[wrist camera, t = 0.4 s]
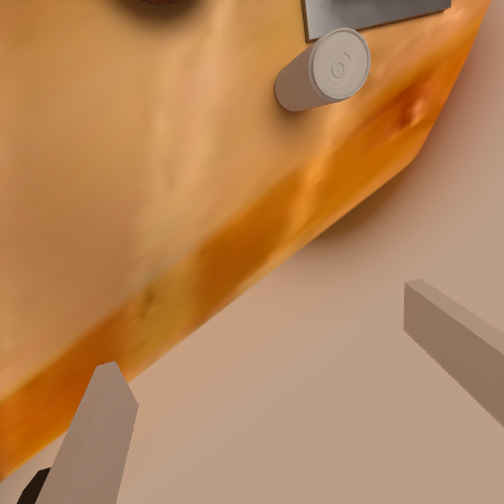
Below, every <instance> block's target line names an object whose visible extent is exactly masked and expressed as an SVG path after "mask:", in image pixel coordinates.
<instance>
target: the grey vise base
mask: <svg viewBox="0 0 504 504" xmlns="http://www.w3.org/2000/svg"><path fill="white" fill-rule="evenodd" d="M450 7H451V0H302V9H303V17H304V26H305V34H306V42H310V41H315V40H318V39H319V38H320V37H322V36H323V35H324V34H325V33H327V32H330V31H332V30H334V29H338V28H350V29H354V30H355V31H358V30H363V29H367V28H371V27H376V26H380V25H384V24H389V23H393V22H398V21H402V20H406V19H411V18H415V17H419V16H424V15H428V14H433V13H437V12H441V11H445V10H446V9H448V8H450Z"/></svg>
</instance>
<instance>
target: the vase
mask: <svg viewBox="0 0 504 504" xmlns="http://www.w3.org/2000/svg"><path fill="white" fill-rule="evenodd" d="M143 1H146V2H148V3H155V4H169V3H173V2H177V1H179V0H143Z"/></svg>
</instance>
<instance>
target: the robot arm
mask: <svg viewBox="0 0 504 504" xmlns="http://www.w3.org/2000/svg"><path fill="white" fill-rule="evenodd" d="M404 331H405V332H406V333H407V334H408V335H409V336H410V337H411V338H412V339H413V340H414V341H415V342H416V343H418V344H419V345H420V346H421V347H422V348H423V349H424V350H425V351H426V352H427V353H428V354H429V355H430V356H431V357H432V358H433V359H434V360H435V361H436V362H437V363H438V364H439V365H440V366H441V367H442V368H443V369H444V370H445V371H446V372H447V373H448V374H449V375H450V376H451V377H453V378H454V379H455V380H456V381H457V382H458V383H459V384H460V385H461V386H462V387H463V388H464V389H465V390H466V391H467V392H468V393H469V394H470V395H471V396H472V397H473V398H474V399H475V400H477V402H478V403H479V404H480V405H481V406H482V407H484V409H486V411H488V412H489V413H490V414H491V415H492V416H493V417H494V418H495V419H496V420H497V421H498V422H499V423H500V424H501V425H502V426H503V427H504V333H503V332H501V331H499V330H498V329H496V328H495V327H493V326H492V325H490V324H489V323H487V322H486V321H484V320H483V319H481V318H480V317H478V316H477V315H475V314H474V313H472V312H471V311H469V310H468V309H466V308H465V307H463V306H462V305H460V304H459V303H457V302H456V301H454V300H453V299H451V298H450V297H448V296H446V295H445V294H443V293H442V292H440V291H439V290H437V289H436V288H434V287H433V286H431V285H430V284H428V283H427V282H425V281H424V280H422V279H421V278H419V279H416V280H412V281H408V282H405V293H404ZM137 409H138V403H137V401H136V400H135V398H134V396H133V394H132V392H131V390H130V388H129V386H128V384H127V382H126V381H125V379H124V377H123V375H122V373H121V371H120V369H119V367H118V365H117V364H116V362H115V361H113V362H110V363H106V364H102V365H99V366H97V367H96V369H95V371H94V374H93V376H92V378H91V380H90V382H89V385H88V387H87V389H86V391H85V394H84V396H83V398H82V400H81V402H80V405H79V407H78V409H77V411H76V414H75V416H74V418H73V420H72V422H71V425H70V427H69V429H68V431H67V434H66V436H65V438H64V440H63V442H62V445H61V447H60V449H59V451H58V454H57V456H56V458H55V460H54V463H53V465H52V467H50V468H46V469H43V470H40V471H38V472H37V474H36V475H35V476H34V477H33V479H32V480H31V481H30V483H29V484H28V485H27V486H26V488H25V489H24V490H23V492H22V494H21V496H20V498H19V500H18V502H17V504H116V500H117V496H118V492H119V487H120V483H121V479H122V474H123V470H124V466H125V462H126V457H127V452H128V449H129V444H130V440H131V435H132V431H133V427H134V423H135V418H136V414H137Z"/></svg>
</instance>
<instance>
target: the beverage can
mask: <svg viewBox="0 0 504 504" xmlns="http://www.w3.org/2000/svg"><path fill="white" fill-rule="evenodd" d="M370 61H371V56H370V50H369V47H368V45H367V42H366V40H365V39H364V38H363V36H362V35H361V34H360V33H358V32H357V31H355V30H354V29H350V28H338V29H334V30H332V31H330V32H327V33H325V34H324V35H323V36H322V37H320V38H319V39H318V40H317V41H316V42H314V43H313V44H312V45H311V46H309V47H308V48H307V49H306V50H304V51H303V52H302V53H301V54H300V55H298V56H297V57H296V58H295V59H294V60H293V61H292V62H290V63H289V64H288V65H287V66H286V67H284V68H283V69H282V70H281V72H280V73H279V74H278V76H277V79H276V83H275V93H276V97H277V99H278V101H279V103H280V104H281V105H282V106H283V107H284V108H285V109H287V110H289V111H294V112H296V111H302V110H306V109H311V108H315V107H319V106H323V105H328V104H332V103H336V102H340V101H343V100H345V99H348V98H349V97H351V96H352V95H353V94H355V93H356V92H357V91H358V90H359V89H360V88H361V87H362V86H363V84H364V83H365V81H366V78H367V76H368V73H369V69H370Z"/></svg>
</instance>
